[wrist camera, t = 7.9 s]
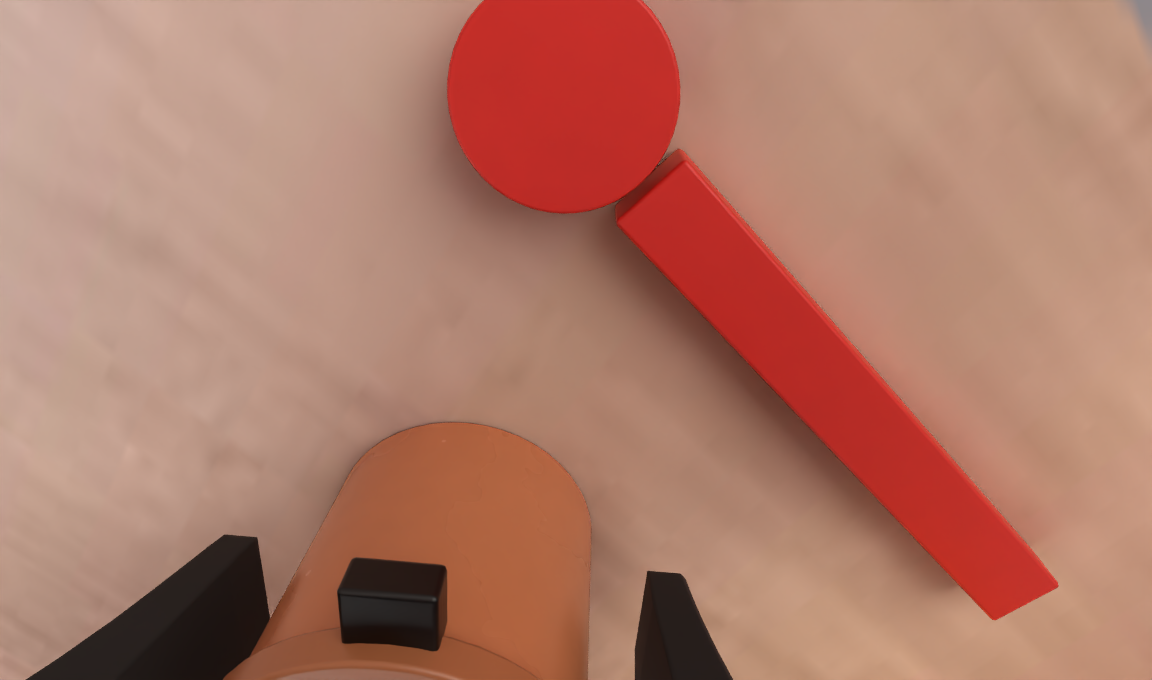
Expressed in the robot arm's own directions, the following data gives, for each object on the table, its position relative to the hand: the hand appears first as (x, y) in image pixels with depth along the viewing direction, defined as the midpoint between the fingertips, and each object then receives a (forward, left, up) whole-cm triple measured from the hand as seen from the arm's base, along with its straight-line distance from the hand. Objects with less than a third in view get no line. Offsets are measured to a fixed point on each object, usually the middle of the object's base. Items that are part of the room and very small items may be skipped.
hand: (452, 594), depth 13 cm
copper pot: (0, 0, -2) cm, 2 cm away
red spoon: (+6, -5, -2) cm, 8 cm away
